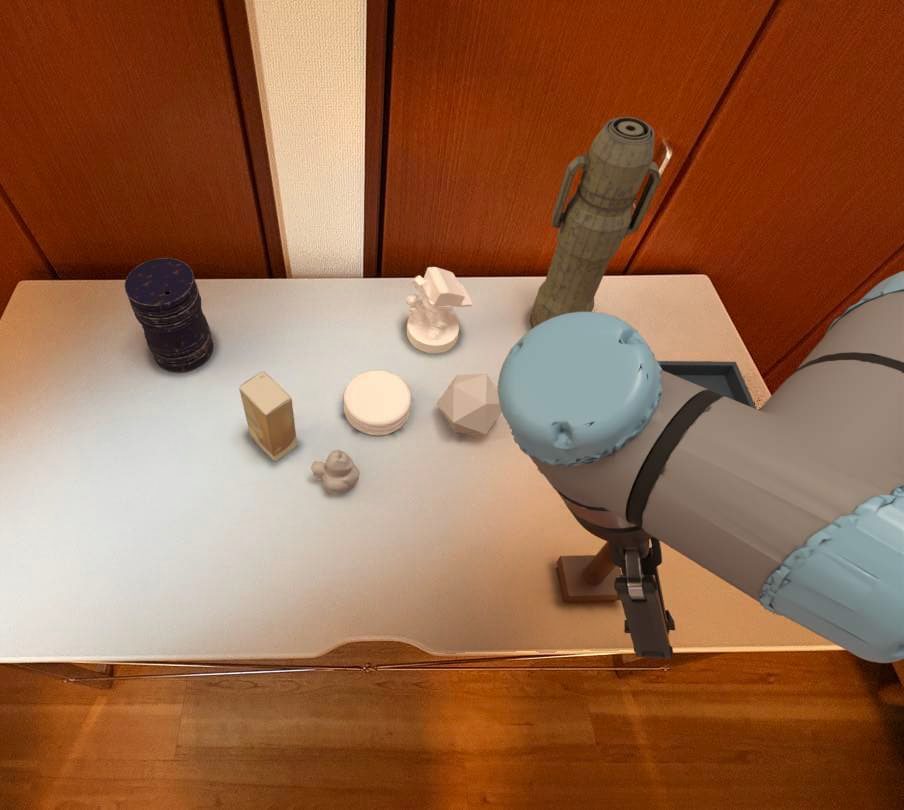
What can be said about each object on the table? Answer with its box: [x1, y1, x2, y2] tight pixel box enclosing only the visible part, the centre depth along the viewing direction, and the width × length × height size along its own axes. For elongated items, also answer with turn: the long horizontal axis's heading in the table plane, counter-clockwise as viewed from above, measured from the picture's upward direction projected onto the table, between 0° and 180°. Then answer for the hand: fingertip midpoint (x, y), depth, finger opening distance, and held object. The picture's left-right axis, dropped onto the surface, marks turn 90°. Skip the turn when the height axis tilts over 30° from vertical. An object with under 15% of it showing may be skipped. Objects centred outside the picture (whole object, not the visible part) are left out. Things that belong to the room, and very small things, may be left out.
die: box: [436, 373, 502, 435], centre depth 89 cm, size 8×9×10 cm
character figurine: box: [405, 266, 473, 355], centre depth 97 cm, size 9×10×12 cm
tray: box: [658, 360, 758, 410], centre depth 91 cm, size 18×14×3 cm
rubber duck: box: [310, 449, 360, 494], centre depth 82 cm, size 5×7×8 cm
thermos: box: [529, 116, 662, 329], centre depth 89 cm, size 9×12×35 cm
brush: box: [555, 541, 622, 604], centre depth 70 cm, size 7×5×18 cm
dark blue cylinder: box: [124, 257, 214, 374], centre depth 93 cm, size 10×10×15 cm
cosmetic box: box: [238, 370, 298, 462], centre depth 84 cm, size 6×4×12 cm
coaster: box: [343, 369, 412, 436], centre depth 91 cm, size 10×10×4 cm
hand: (648, 548), depth 57 cm, fingers open, 13 cm apart
